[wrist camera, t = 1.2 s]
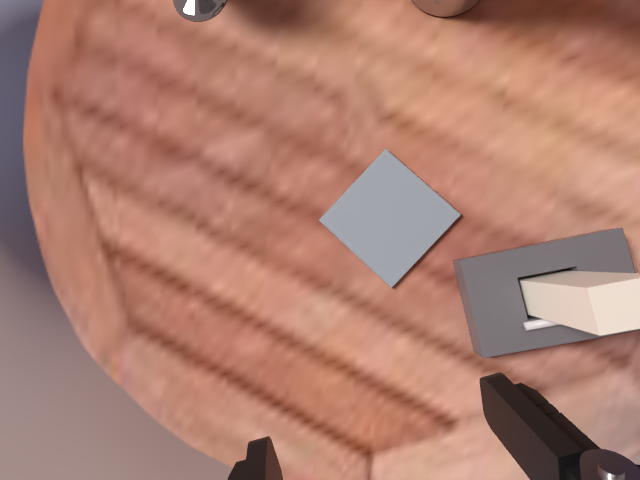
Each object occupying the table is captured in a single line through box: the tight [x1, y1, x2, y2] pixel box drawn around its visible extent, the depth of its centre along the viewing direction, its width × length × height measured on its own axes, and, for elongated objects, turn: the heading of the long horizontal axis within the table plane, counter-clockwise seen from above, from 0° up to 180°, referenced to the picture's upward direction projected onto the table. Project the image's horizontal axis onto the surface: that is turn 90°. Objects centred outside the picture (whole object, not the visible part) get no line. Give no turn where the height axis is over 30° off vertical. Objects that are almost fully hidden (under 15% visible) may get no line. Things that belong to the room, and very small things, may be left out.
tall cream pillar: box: [517, 270, 640, 336], centre depth 30 cm, size 5×4×12 cm
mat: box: [319, 149, 461, 288], centre depth 38 cm, size 11×11×1 cm
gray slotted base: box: [453, 228, 640, 358], centre depth 35 cm, size 16×10×3 cm, turn 102°
